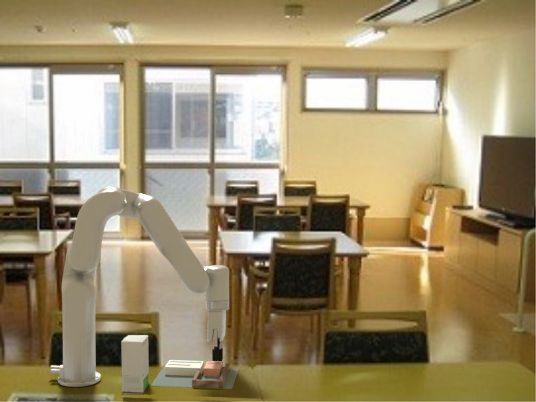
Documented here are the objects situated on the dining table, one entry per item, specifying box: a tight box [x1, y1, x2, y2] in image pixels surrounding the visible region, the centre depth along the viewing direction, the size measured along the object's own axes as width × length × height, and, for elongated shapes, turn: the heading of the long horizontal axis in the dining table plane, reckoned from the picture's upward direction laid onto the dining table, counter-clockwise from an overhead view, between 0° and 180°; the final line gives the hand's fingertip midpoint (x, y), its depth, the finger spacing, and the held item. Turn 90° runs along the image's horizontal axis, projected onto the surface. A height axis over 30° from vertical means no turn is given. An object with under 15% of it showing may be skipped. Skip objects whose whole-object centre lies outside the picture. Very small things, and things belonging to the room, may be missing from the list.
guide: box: [191, 363, 231, 389], centre depth 211 cm, size 9×17×2 cm, turn 176°
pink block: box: [203, 360, 224, 377], centre depth 216 cm, size 5×7×3 cm
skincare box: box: [120, 334, 150, 396], centre depth 202 cm, size 8×7×16 cm
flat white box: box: [165, 359, 205, 376], centre depth 217 cm, size 11×7×3 cm, turn 86°
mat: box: [150, 365, 240, 390], centre depth 212 cm, size 24×18×1 cm
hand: (217, 360), depth 224 cm, fingers closed
